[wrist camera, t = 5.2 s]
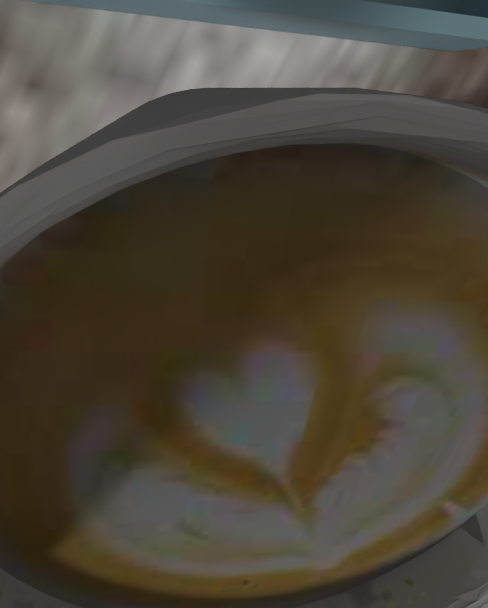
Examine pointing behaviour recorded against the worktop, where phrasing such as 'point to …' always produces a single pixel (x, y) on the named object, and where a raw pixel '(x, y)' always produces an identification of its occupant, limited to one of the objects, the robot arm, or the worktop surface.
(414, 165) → the coffee mug
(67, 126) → the worktop surface
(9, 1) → the worktop surface
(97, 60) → the worktop surface
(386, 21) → the tote
